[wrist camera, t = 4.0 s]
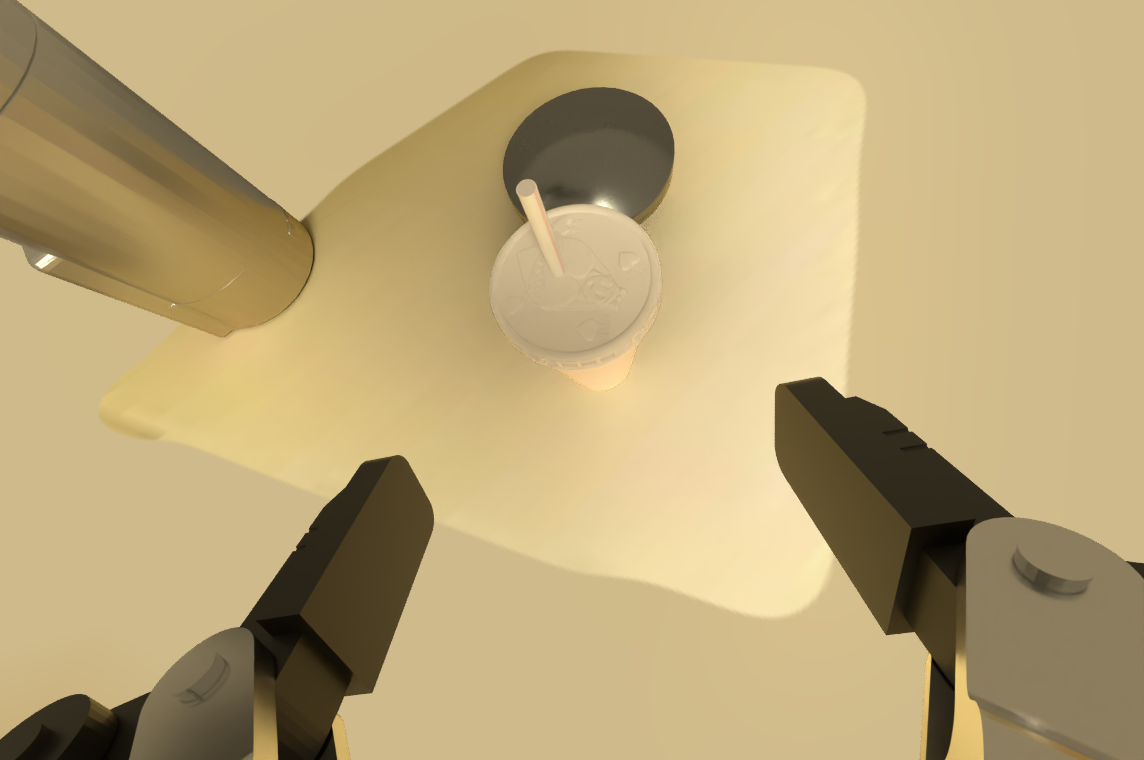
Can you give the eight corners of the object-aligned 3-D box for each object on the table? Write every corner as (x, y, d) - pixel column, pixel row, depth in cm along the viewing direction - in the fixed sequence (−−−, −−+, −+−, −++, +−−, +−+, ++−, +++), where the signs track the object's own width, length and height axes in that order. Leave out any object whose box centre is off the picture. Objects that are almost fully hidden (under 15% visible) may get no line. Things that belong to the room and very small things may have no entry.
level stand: (582, 292, 25) (574, 265, 22) (490, 196, 28) (471, 161, 25) (705, 190, 26) (713, 149, 23) (601, 106, 29) (596, 61, 26)
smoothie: (578, 292, 25) (506, 72, 12) (675, 335, 24) (716, 133, 10) (526, 383, 24) (384, 252, 11) (623, 434, 23) (593, 352, 9)
